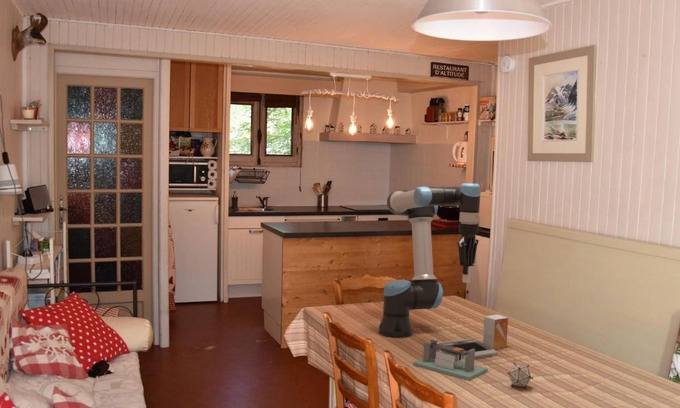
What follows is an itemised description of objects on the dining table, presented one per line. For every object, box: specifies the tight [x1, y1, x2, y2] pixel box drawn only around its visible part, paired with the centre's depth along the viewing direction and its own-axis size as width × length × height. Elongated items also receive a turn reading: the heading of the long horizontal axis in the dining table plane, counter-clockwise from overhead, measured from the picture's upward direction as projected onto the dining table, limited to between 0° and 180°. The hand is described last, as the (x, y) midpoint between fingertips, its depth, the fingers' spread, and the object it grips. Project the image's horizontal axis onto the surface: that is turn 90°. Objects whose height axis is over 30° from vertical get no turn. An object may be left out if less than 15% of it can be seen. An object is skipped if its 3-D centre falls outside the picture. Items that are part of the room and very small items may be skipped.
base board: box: [412, 338, 489, 381], centre depth 250 cm, size 24×14×9 cm, turn 50°
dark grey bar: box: [430, 342, 468, 356], centre depth 251 cm, size 17×3×2 cm, turn 50°
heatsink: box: [435, 350, 465, 370], centre depth 251 cm, size 8×9×6 cm
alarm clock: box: [439, 337, 498, 360], centre depth 271 cm, size 17×5×16 cm
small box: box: [482, 314, 509, 351], centre depth 280 cm, size 8×6×13 cm
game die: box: [506, 362, 534, 390], centre depth 233 cm, size 9×8×10 cm
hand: (466, 282), depth 262 cm, fingers closed
